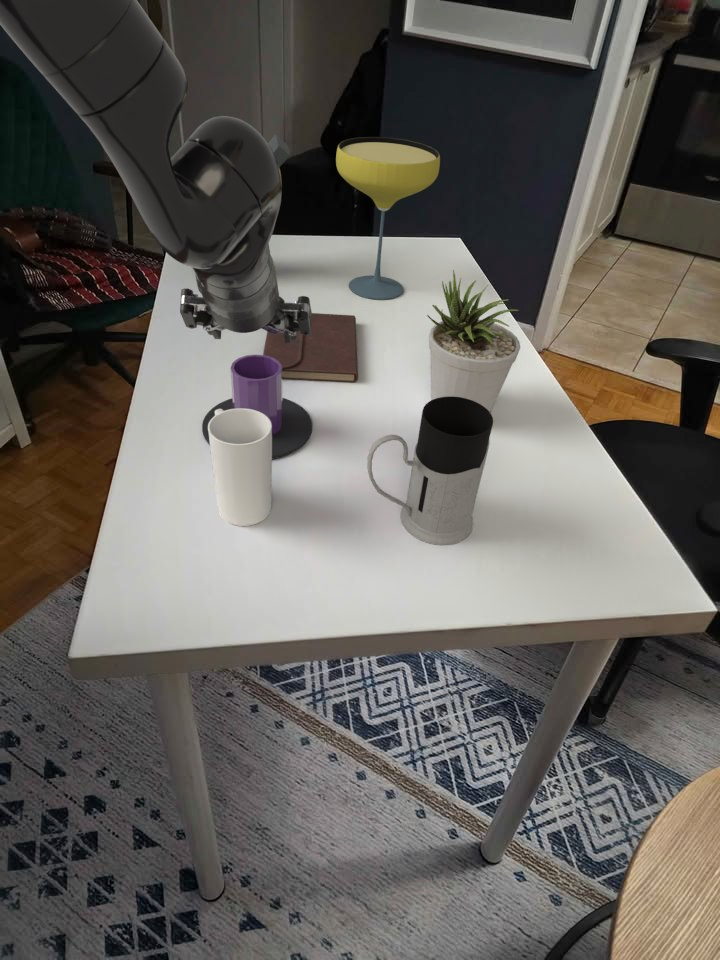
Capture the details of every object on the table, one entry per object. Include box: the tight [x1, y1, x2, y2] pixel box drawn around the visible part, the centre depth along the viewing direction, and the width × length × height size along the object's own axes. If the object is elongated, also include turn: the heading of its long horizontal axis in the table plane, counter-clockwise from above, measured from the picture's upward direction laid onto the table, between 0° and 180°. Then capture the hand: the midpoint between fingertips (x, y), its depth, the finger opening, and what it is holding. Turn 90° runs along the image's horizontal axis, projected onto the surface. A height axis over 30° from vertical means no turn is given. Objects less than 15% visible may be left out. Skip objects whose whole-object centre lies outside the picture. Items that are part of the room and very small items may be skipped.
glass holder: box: [366, 396, 494, 546], centre depth 72 cm, size 9×14×15 cm, turn 111°
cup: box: [230, 354, 284, 435], centre depth 86 cm, size 6×6×9 cm
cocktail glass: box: [335, 136, 441, 301], centre depth 119 cm, size 18×18×25 cm
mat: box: [201, 397, 313, 460], centre depth 89 cm, size 15×15×1 cm
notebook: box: [262, 312, 359, 383], centre depth 106 cm, size 15×20×2 cm
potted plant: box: [426, 269, 521, 413], centre depth 90 cm, size 13×14×20 cm
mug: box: [208, 408, 273, 527], centre depth 74 cm, size 10×7×12 cm, turn 35°
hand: (253, 333), depth 79 cm, fingers open, 8 cm apart
